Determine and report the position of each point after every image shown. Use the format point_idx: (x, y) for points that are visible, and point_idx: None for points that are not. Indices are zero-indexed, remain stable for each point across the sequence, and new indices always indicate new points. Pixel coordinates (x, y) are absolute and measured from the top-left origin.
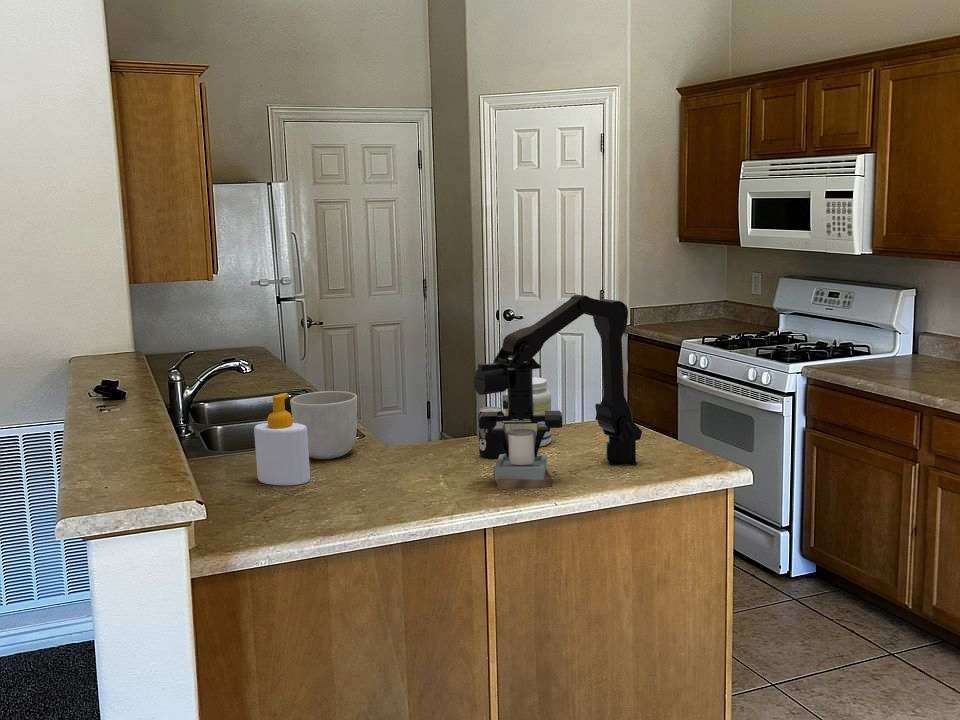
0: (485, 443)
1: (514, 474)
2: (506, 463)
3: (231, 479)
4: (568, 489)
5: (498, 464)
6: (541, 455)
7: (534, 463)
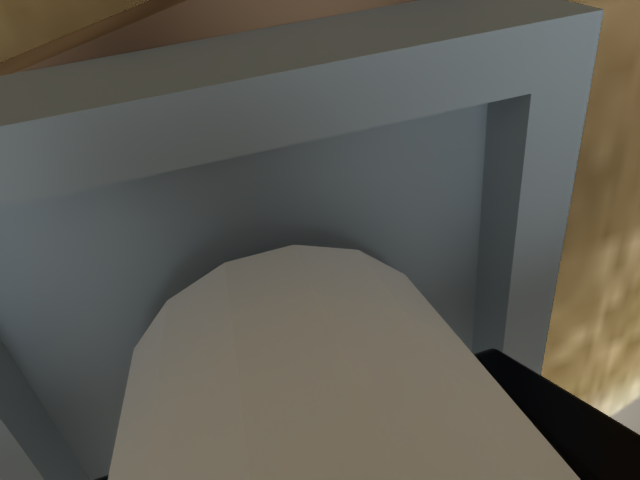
0: None
1: None
2: (45, 308)
3: None
4: (590, 321)
5: None
6: (524, 71)
7: (401, 207)
